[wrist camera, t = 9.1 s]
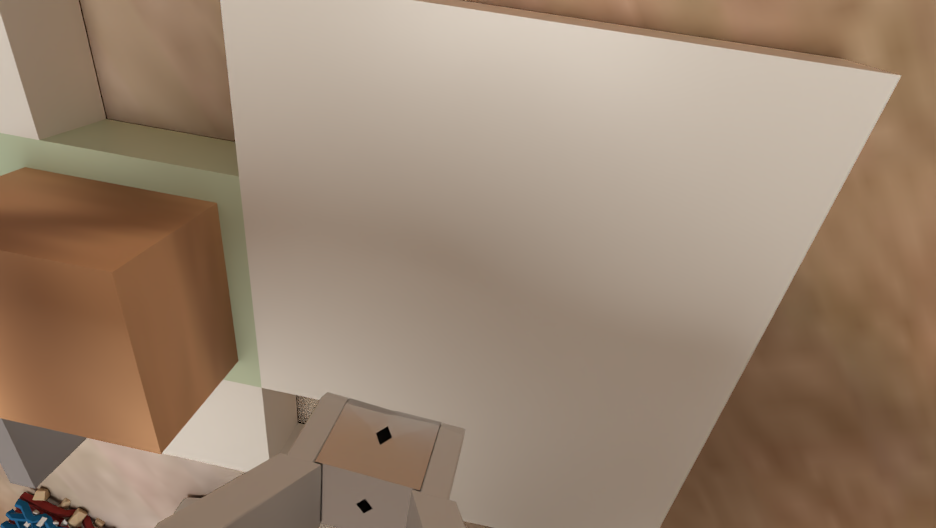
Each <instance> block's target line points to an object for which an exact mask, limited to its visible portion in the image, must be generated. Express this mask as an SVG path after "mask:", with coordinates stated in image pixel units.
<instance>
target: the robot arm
mask: <svg viewBox="0 0 936 528" xmlns="http://www.w3.org/2000/svg"><path fill="white" fill-rule="evenodd" d="M441 423H442V422H439V421H435V420H431V419H427V418H423V417H419V416H415V415H411V414H407V413H403V412H399V411H392V410H389V409H385V408H382V407H379V406H375V405H372V404H368V403H365V402H362V401H358V400H355V399H351V398H347V397H344V396H340V395H337V394H333V393H329V392H327V393H325V394H324V395H323V396H322V397H321V399H320V400H319V402H318V404H317V405H316V407H315V408H314V410H313V412H312V413H311V415H310V417H309V418H308V420H307V422H306V423H305V425H304V427H303V428H302V430H301V432H300V433H299V435H298V437H297V438H296V440H295V442H294V443H293V445H292V447H291V448H290V450H289V452H288V453H287V455H285V454H281V453H279V454H277V455H275V456H274V457H272V458H270V459H268V460H267V461H265V462H263V463H261V464H260V465H258V466H256V467H254V468H253V469H251V470H249V471H248V472H246V473H244V474H242V475H241V476H239V477H237V478H235V479H234V480H232V481H230V482H228V483H227V484H225V485H223V486H221V487H220V488H218V489H216V490H215V491H213V492H211V493H209V494H208V495H206V496H204V497H202V498H201V499H199V500H197V501H195V502H194V503H192V504H190V505H188V506H187V507H185V508H183V509H182V510H180V511H178V512H176V513H175V514H173V515H171V516H169V517H168V518H166V519H164V520H162V521H161V522H159V523H158V524H157V525H156V526H155V528H318V527H319V526H320V523H322V524H326V525H330V526H334V527H338V528H466V527H465V524H464V522H463V519H462V516H461V514H460V511H459V508H458V505H457V503H456V502H455V501H452V500H449V499H450V494H451V490H452V486H453V482H454V478H455V474H456V469H457V465H458V461H459V457H460V453H461V448H462V444H463V440H464V436H465V429H464V428H460V427H456V426H453V425H449V424H445V423H442V424H441Z"/></svg>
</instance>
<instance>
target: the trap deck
mask: <svg viewBox="0 0 936 528" xmlns="http://www.w3.org/2000/svg"><path fill="white" fill-rule="evenodd" d="M220 4H221V13H222V23H223V32H224V41H225V51H226V60H227V69H228V79H229V88H230V97H231V107H232V116H233V125H234V135H235V142H232V141H227V140H221V139H216V138H210V137H204V136H199V135H193V134H188V133H182V132H176V131H171V130H165V129H160V128H154V127H148V126H143V125H137V124H131V123H126V122H120V121H115V120H109V119H106V116H105V112H104V107H103V103H102V99H101V94H100V90H99V86H98V82H97V77H96V73H95V69H94V64H93V60H92V56H91V51H90V47H89V43H88V39H87V34H86V30H85V26H84V21H83V17H82V13H81V8H80V4H79V0H0V176H1V175H4V174H7V173H10V172H13V171H15V170H18V169H21V168H24V167H27V168H32V169H38V170H43V171H49V172H54V173H59V174H65V175H70V176H75V177H81V178H86V179H92V180H97V181H102V182H108V183H113V184H118V185H124V186H129V187H135V188H140V189H145V190H151V191H156V192H161V193H167V194H172V195H177V196H183V197H188V198H194V199H199V200H204V201H210V202H215V203H217V206H218V213H219V221H220V228H221V236H222V243H223V250H224V258H225V265H226V273H227V280H228V287H229V295H230V302H231V310H232V317H233V325H234V332H235V339H236V347H237V354H238V362H237V363H236V365H235V366H234V367H233V368H232V369H231V371H230V372H229V373H228V374H227V375H226V377H225V378H224V379H223V380H222V381H221V383H220V384H219V385H218V386H217V387H216V389H215V390H214V391H213V392H212V393H211V395H210V396H209V397H208V398H207V399H206V401H205V402H204V403H203V404H202V405H201V407H200V408H199V409H198V410H197V412H196V413H195V414H194V415H193V416H192V418H191V419H190V420H189V421H188V422H187V424H186V425H185V426H184V427H183V428H182V430H181V431H180V432H179V433H178V434H177V436H176V437H175V438H174V439H173V440H172V442H171V443H170V444H169V445H168V446H167V448H166V449H165V450H164V451H163V452H162V453H163V454H167V455H172V456H176V457H181V458H185V459H190V460H194V461H199V462H203V463H208V464H212V465H216V466H221V467H225V468H230V469H234V470H239V471H243V472H248V471H249V470H251V469H253V468H254V467H256V466H258V465H260V464H261V463H263V462H265V461H267V460H268V459H270V458H272V457H274V456H275V455H277V454H279V453H281V454H285V455H287V453H288V452H289V450H290V448H291V447H292V445H293V443H294V442H295V440H296V438H297V437H298V435H299V433H300V432H301V430H302V428H303V427H304V425H305V424H301V423H298V418H297V402H296V395H298V396H303V397H307V398H312V399H317V400H320V399H321V397H322V396H323V395H324V394H325V393H327V392H329V393H333V394H337V395H340V396H344V397H347V398H351V399H355V400H358V401H362V402H365V403H368V404H372V405H375V406H379V407H382V408H385V409H389V410H392V411H399V412H403V413H407V414H411V415H415V416H419V417H423V418H427V419H431V420H435V421H439V422H442V423H445V424H449V425H453V426H456V427H460V428H464V429H465V436H464V440H463V444H462V448H461V453H460V457H459V461H458V465H457V469H456V474H455V478H454V482H453V486H452V490H451V494H450V499H449V500H452V501H455V502H456V503H457V505H458V508H459V511H460V514H461V516H462V519H463V521H466V522H470V523H475V524H479V525H484V526H488V527H492V528H660V526H661V524H662V522H663V521H664V519H665V517H666V515H667V513H668V511H669V509H670V508H671V506H672V504H673V502H674V500H675V498H676V496H677V494H678V493H679V491H680V489H681V487H682V485H683V483H684V481H685V479H686V478H687V476H688V474H689V472H690V470H691V468H692V466H693V465H694V463H695V461H696V459H697V457H698V455H699V453H700V451H701V450H702V448H703V446H704V444H705V442H706V440H707V438H708V436H709V435H710V433H711V431H712V429H713V427H714V425H715V423H716V421H717V420H718V418H719V416H720V414H721V412H722V410H723V408H724V407H725V405H726V403H727V401H728V399H729V397H730V395H731V393H732V392H733V390H734V388H735V386H736V384H737V382H738V380H739V378H740V377H741V375H742V373H743V371H744V369H745V367H746V365H747V364H748V362H749V360H750V358H751V356H752V354H753V352H754V350H755V349H756V347H757V345H758V343H759V341H760V339H761V337H762V335H763V334H764V332H765V330H766V328H767V326H768V324H769V322H770V321H771V319H772V317H773V315H774V313H775V311H776V309H777V307H778V306H779V304H780V302H781V300H782V298H783V296H784V294H785V292H786V291H787V289H788V287H789V285H790V283H791V281H792V279H793V277H794V276H795V274H796V272H797V270H798V268H799V266H800V264H801V263H802V261H803V259H804V257H805V255H806V253H807V251H808V249H809V248H810V246H811V244H812V242H813V240H814V238H815V236H816V234H817V233H818V231H819V229H820V227H821V225H822V223H823V221H824V220H825V218H826V216H827V214H828V212H829V210H830V208H831V206H832V205H833V203H834V201H835V199H836V197H837V195H838V193H839V191H840V190H841V188H842V186H843V184H844V182H845V180H846V178H847V177H848V175H849V173H850V171H851V169H852V167H853V165H854V163H855V162H856V160H857V158H858V156H859V154H860V152H861V150H862V148H863V147H864V145H865V143H866V141H867V139H868V137H869V135H870V133H871V132H872V130H873V128H874V126H875V124H876V122H877V120H878V119H879V117H880V115H881V113H882V111H883V109H884V107H885V105H886V104H887V102H888V100H889V98H890V96H891V94H892V92H893V90H894V89H895V87H896V85H897V83H898V81H899V79H900V77H901V75H898V74H894V73H891V72H887V71H884V70H880V69H877V68H873V67H870V66H866V65H863V64H859V63H856V62H852V61H849V60H845V59H841V58H834V57H828V56H821V55H815V54H808V53H802V52H795V51H789V50H782V49H776V48H769V47H763V46H756V45H750V44H743V43H737V42H730V41H724V40H717V39H710V38H704V37H697V36H691V35H684V34H678V33H671V32H665V31H658V30H652V29H645V28H639V27H632V26H626V25H619V24H613V23H606V22H600V21H593V20H587V19H580V18H574V17H567V16H560V15H554V14H547V13H541V12H534V11H528V10H521V9H515V8H508V7H502V6H495V5H489V4H482V3H476V2H469V1H463V0H220ZM442 423H441V424H442ZM85 439H86V437H82V436H78V435H73V434H69V433H64V432H60V431H55V430H51V429H46V428H42V427H37V426H33V425H28V424H24V423H20V422H15V421H11V420H6V419H2V418H0V463H1V465H2V467H3V469H4V471H5V473H6V475H7V477H8V479H9V481H10V483H13V484H17V485H22V486H26V487H30V488H36V487H37V486H38V485H39V484H40V483H41V482H42V481H43V480H44V479H45V478H46V477H47V476H48V475H49V474H51V473H52V472H53V471H54V470H55V469H56V468H57V467H58V466H59V465H60V464H61V463H62V462H63V461H64V460H65V459H66V458H67V457H68V456H69V455H70V454H71V453H72V452H73V451H74V450H75V449H76V448H77V447H78V446H79V445H80V444H81V443H82V442H83V441H84V440H85Z"/></svg>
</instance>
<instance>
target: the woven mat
mask: <svg viewBox="0 0 936 528" xmlns="http://www.w3.org/2000/svg"><path fill="white" fill-rule="evenodd" d="M49 496H50V494H49V491H48V489H44V488H39V489H38V490H37V491H36V492H35V495H34V496H33V495H30V494H28V493H26V492H24V493H23V494H22V495H21V496H20V498H19V499H18V501H17V502H16V504H15V507H16V510H15V511H14V510H13V509H12V510H10V511H9V512H7V513H6V516H7V517H8V518H9V521H5V522H4V523H2V524H1V526H0V527H1V528H81V527H80V526H81V524H82V523H83V525H84V528H102V527H103V525H104V524H105V522H104V521H102V520H100V519H98V518H97V519H96V520H95V522H94V523H93V524H92V521H91V519H90V516H88V515H87V511H85V510H83V509H81V508H79V507H78V508H77V509H72V510H67V509H68V508H69V505H70V502H71V501H70V500H68V499H67V498H65V499H64V500H63V501H62V502H61V503H60V504H59V505H58V506H55V505H53V504H51V503H49V502H46V501H47V499H48V497H49ZM17 509H18V510H17ZM63 517H66V518H65V519H64V518H63ZM69 517H70V518H69ZM9 522H10V523H9ZM114 528H115V527H114Z"/></svg>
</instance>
